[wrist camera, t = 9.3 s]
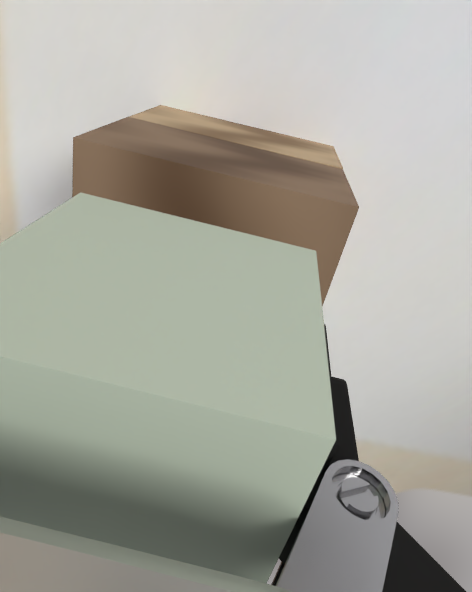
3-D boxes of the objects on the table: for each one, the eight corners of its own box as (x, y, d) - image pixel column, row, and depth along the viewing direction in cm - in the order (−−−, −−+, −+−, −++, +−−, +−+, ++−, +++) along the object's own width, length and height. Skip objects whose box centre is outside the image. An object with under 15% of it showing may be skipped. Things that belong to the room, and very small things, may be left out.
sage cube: (316, 250, 11) (337, 439, 5) (258, 419, 14) (237, 644, 8) (80, 191, 11) (-127, 324, 5) (75, 373, 14) (-61, 571, 8)
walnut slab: (342, 168, 16) (358, 207, 12) (284, 342, 20) (282, 413, 16) (128, 116, 16) (73, 137, 12) (114, 300, 20) (69, 361, 16)
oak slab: (332, 145, 19) (343, 168, 16) (286, 294, 23) (285, 341, 20) (161, 104, 19) (128, 117, 16) (144, 260, 23) (115, 301, 20)
